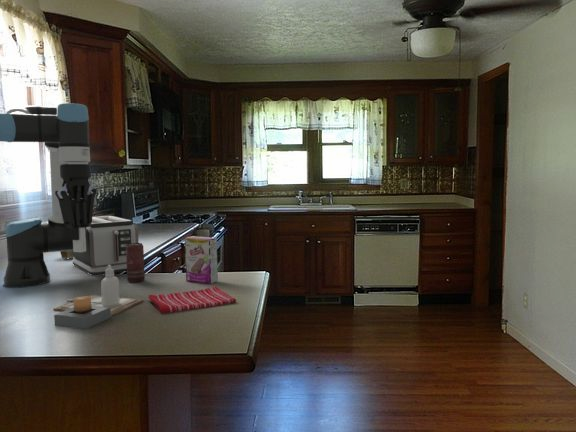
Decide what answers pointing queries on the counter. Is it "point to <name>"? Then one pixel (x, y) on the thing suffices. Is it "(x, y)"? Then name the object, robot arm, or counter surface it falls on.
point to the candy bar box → (201, 259)
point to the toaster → (106, 245)
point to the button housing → (82, 317)
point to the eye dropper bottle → (110, 288)
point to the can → (135, 262)
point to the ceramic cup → (66, 254)
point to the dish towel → (190, 300)
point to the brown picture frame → (97, 301)
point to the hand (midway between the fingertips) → (79, 251)
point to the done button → (82, 303)
